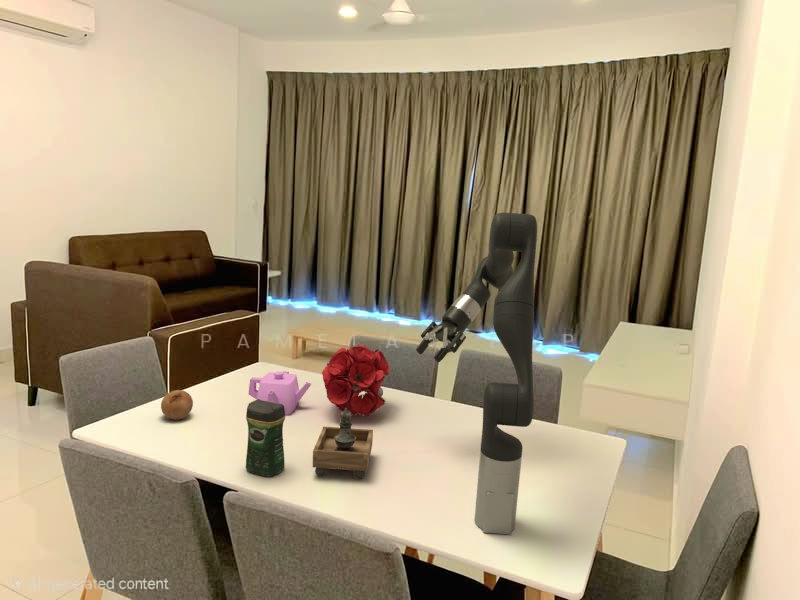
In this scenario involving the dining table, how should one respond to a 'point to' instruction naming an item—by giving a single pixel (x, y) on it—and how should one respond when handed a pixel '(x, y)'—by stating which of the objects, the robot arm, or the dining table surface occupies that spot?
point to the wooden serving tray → (342, 452)
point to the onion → (177, 405)
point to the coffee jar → (265, 437)
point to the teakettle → (278, 389)
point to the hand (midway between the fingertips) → (427, 356)
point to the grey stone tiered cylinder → (345, 433)
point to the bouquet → (356, 379)
